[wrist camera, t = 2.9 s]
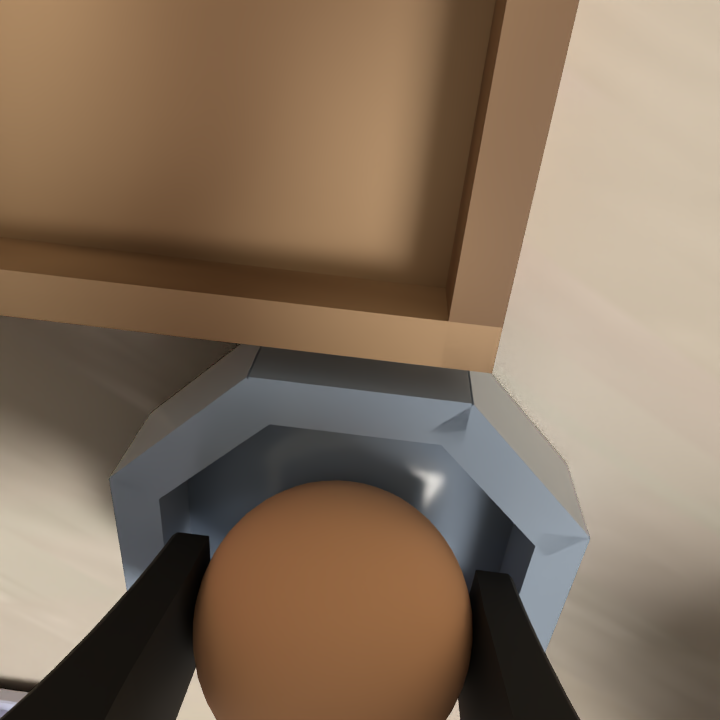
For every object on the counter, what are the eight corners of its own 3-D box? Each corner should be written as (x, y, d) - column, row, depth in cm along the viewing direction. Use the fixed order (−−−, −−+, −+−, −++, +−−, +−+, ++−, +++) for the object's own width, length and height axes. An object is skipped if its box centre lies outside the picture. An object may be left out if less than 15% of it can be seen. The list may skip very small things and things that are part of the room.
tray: (-57, 252, 12) (-140, 298, 10) (-228, -377, 7) (-423, -487, 6) (480, 315, 11) (492, 372, 10) (611, -302, 7) (671, -390, 5)
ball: (235, 581, 15) (160, 821, 11) (231, 412, 12) (131, 638, 8) (444, 608, 15) (453, 861, 10) (484, 443, 12) (519, 690, 8)
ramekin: (170, 605, 16) (140, 677, 15) (137, 304, 12) (89, 358, 10) (505, 648, 16) (515, 727, 14) (604, 358, 12) (636, 423, 10)
